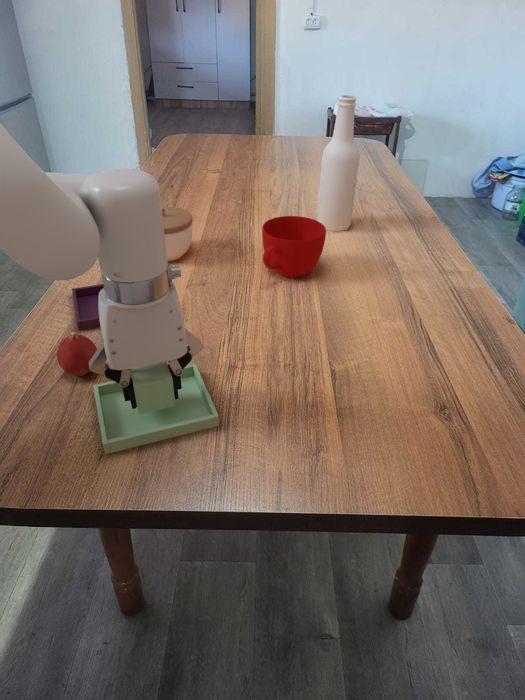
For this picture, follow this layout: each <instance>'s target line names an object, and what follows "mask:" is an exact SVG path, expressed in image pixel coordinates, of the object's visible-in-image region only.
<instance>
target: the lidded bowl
mask: <svg viewBox="0 0 525 700" xmlns="http://www.w3.org/2000/svg"><path fill="white" fill-rule="evenodd" d="M162 215H163V225H164V235H165V245H166V254H167V262H173V261H176V260H179V259H180V258H182V257H183V256H184V255H185V254H186V253H187V252H188V250H189V249H190V246H191V244H192V240H193V221H194V219H193V218H194V217H193V214H192V213H191V212H190V211H189V210H186V209H184V208H181V207H175V206H162Z"/></svg>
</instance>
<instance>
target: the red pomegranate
mask: <svg viewBox="0 0 525 700" xmlns="http://www.w3.org/2000/svg"><path fill="white" fill-rule="evenodd" d="M97 349H98V347H97V345H96V344H95V343H94V342H93V341H92V340H91V339H90V338H88V337H87V336H84V335H82V334H78V333H77V331H72V332H71V333H70V334H69V335H68V336H66V337H65V338H64V339H63V340H62V341H61V342H60V343H59V346H58V349H57V351H56V359H57V363H58V365H59V367H60V368H61V369H62V370H63V371H65V372H66V373H67V374H70V375H72V376H79V377H83V376H86V375H87V374H89V373H90V372H91V371H90V370H89V361H90V360H91V358H92V357H93V355H94V354H95V352H96V351H97Z"/></svg>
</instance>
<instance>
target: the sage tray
mask: <svg viewBox="0 0 525 700" xmlns="http://www.w3.org/2000/svg"><path fill="white" fill-rule="evenodd" d="M200 372H201V371H200V370H199V368H198V365H197V363H192V364H188V365H187V366H186V367H185V368H184V369H183V373H182V374H181V375H180V376H181V385H182V389H179V390H178V396H179V399H175V405H176V406H174V407H169V408H165V409H161V410H156V411H152V412H148V413H144V414H139V413H138V409H137V407H136V408H135V409H132V406H131V402H130V401H125V399H124V394H123V389H122V387H121V386H120V384H119V383H117V382H115V381H112V380H110V381H105V382H101V383H95V384H93V386H92V387H93V393H94V399H95V405H96V412H97V417H98V423H99V424H98V425H99V430H100V435H101V442H102V447H103V451H104V454H105V455H109V454H113V453H117V452H120V451H124V450H129V449H132V448H137V447H140V446H144V445H148V444H152V443H158V442H161V441H165V440H169V439H172V438H176V437H180V436H185V435H188V434H193V433H197V432H200V431H204V430H209V429H212V428H216V427H219V426H220V415H219V413H218V411H217V409H216V407H215V404H214V402H213V400H212V398H211V397H212V396H211V395H210V393H209V390H208V388H207V386H206V384H205V382H204V378H203V377H202V375H201V373H200Z"/></svg>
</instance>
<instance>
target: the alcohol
mask: <svg viewBox="0 0 525 700" xmlns="http://www.w3.org/2000/svg"><path fill="white" fill-rule="evenodd" d="M337 99H338V102H337V110H336V116H335V121H334V127H333V133H332V137H331V139H330V141H329V142H327V144H326V146H325V147H324V148H323V151H322V155H321V163H320V175H319V185H318V197H317V207H316V219H315V220H316V221H318V222H320V223H322V224H323V225H324V226H325V228H326V231H330V232H343V231H347V230H348V229H349V228H350V226H351V224H352V217H353V210H354V202H355V195H356V187H357V182H358V181H357V180H358V173H359V165H360V149H359V148H358V145H357V144H356V142H355V139H354V133H355V132H354V130H355V113H356V112H355V111H356V106H357V97H356V96H354V95H350V94H349V95H347V94H342V95H339V96H338V97H337Z"/></svg>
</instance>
